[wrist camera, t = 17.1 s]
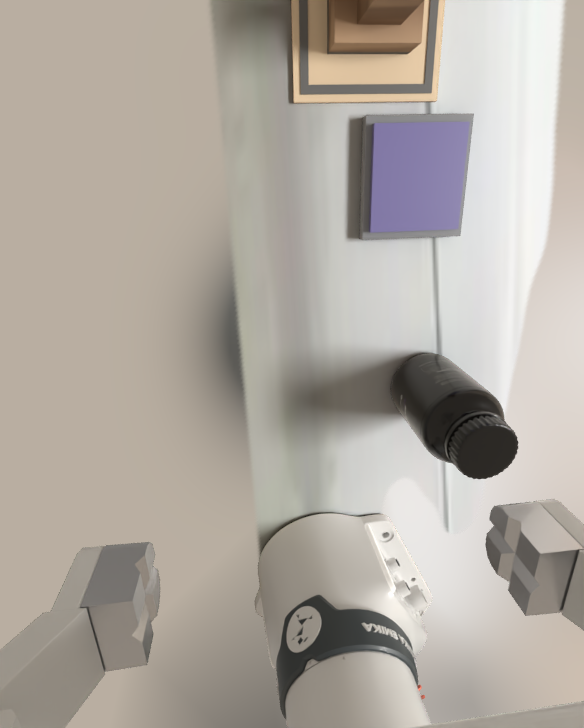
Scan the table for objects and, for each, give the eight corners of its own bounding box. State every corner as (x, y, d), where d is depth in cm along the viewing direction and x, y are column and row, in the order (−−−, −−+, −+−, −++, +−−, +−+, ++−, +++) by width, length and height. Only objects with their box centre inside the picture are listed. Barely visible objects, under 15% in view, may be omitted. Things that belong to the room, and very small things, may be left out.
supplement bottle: (375, 397, 42) (423, 470, 31) (415, 339, 41) (481, 393, 29) (429, 425, 44) (492, 503, 33) (470, 370, 42) (551, 433, 31)
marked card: (435, 101, 33) (437, 100, 33) (293, 103, 32) (294, 102, 32) (450, -86, 29) (453, -89, 29) (288, -91, 28) (289, -95, 28)
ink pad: (454, 234, 37) (463, 236, 36) (359, 238, 37) (364, 240, 35) (467, 115, 34) (477, 112, 33) (362, 117, 33) (368, 114, 32)
